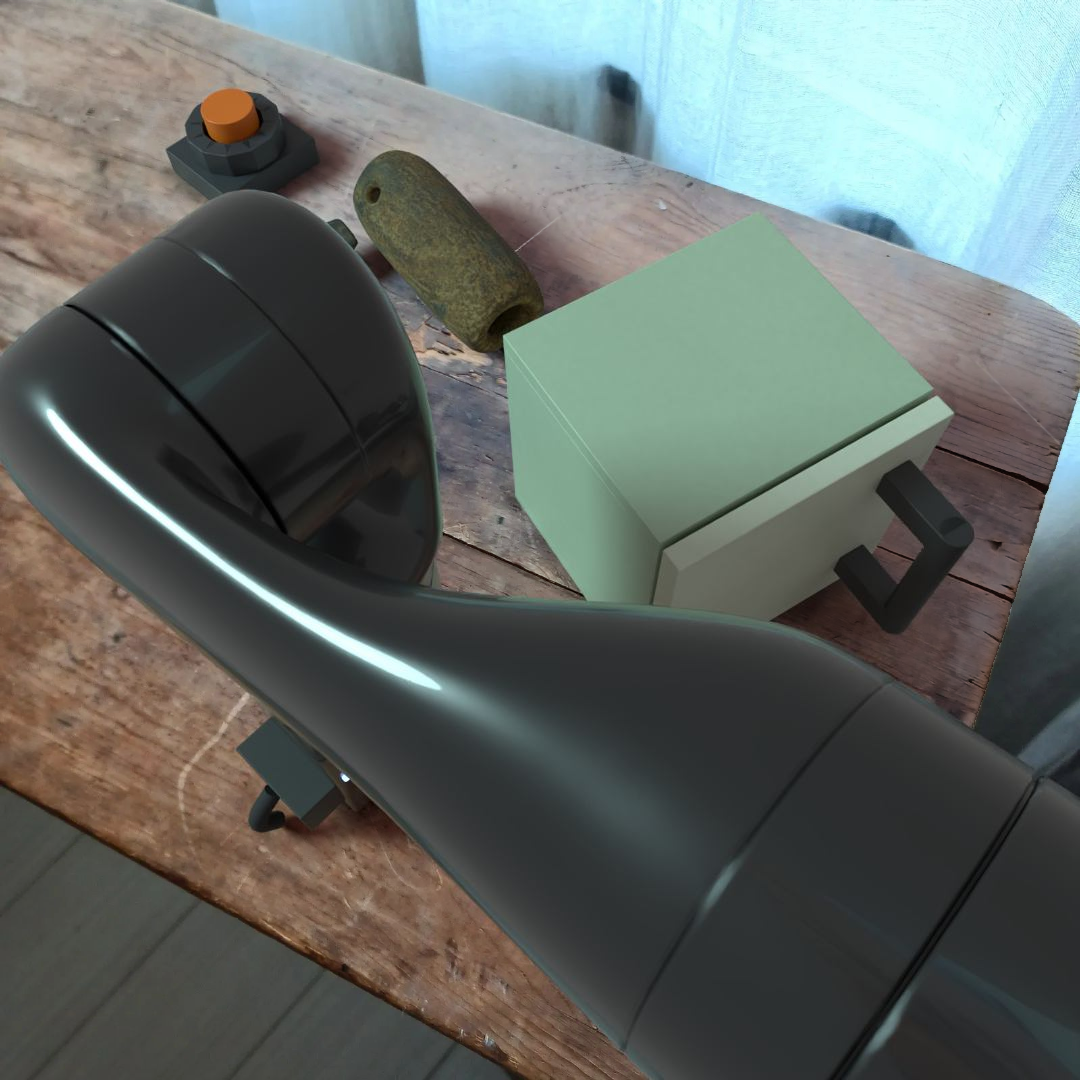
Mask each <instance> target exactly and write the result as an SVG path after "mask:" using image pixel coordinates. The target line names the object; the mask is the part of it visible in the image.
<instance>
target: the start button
mask: <svg viewBox="0 0 1080 1080" xmlns="http://www.w3.org/2000/svg"><path fill="white" fill-rule="evenodd" d="M245 91H246V90H243V89H239V88H223V89H219V90H216V91H214V92H212V93H210V94H209V95H208V96H207V97H205V98H204V100H203V101H202V102H203V103H202V102H201V103H202V105H201V114H202V117H203V120H204V122H205V125H206V128H207V130H208V133H209V135H210V137H211V138H212V139H213V140H215V141H216V142H219V143H225V144H231V143H236V142H241V141H245V140H247V139H248V138H250V137H251V136H253V135H254V134H256V132H257V131H258V129H259V124H260V123H259V118H258V115H257V112H256V109H255V106H254V102H253V99H252V98H251V96H250V95H249V94H248V93H246V92H245Z"/></svg>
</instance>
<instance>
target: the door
mask: <svg viewBox="0 0 1080 1080" xmlns="http://www.w3.org/2000/svg"><path fill="white" fill-rule="evenodd" d="M954 416H955V411H954V410H953V409H951V408H950V407H949V406H948V404H947V403H946V402H944V400H943V399H942V398H941V397H940V396H939V395H935V396H933V397H932V398H929V400H928V401H926V402H925V403H923V404H921V405H919V406H918V407H916V408H914V409H912V410H910V411H909V412H907V413H905V414H903V415H902V416H900V417H898V418H896V419H895V420H893V421H891V422H889V423H887V424H886V425H884V426H882V427H880V428H879V429H877V430H875V431H873V432H871V433H870V434H868V435H866V436H864V437H863V438H861V439H859V440H857V441H856V442H854V443H852V444H850V445H848V446H847V447H845V448H843V449H841V450H840V451H838V452H836V453H834V454H833V455H831V456H829V457H827V458H825V459H824V460H822V461H820V462H818V463H817V464H815V465H813V466H811V467H809V468H808V469H806V470H804V471H802V472H801V473H799V474H797V475H795V476H794V477H792V478H790V479H788V480H786V481H785V482H783V483H781V484H779V485H778V486H776V487H774V488H772V489H771V490H769V491H767V492H765V493H763V494H762V495H760V496H758V497H756V498H755V499H753V500H751V501H749V502H747V503H746V504H744V505H742V506H740V507H739V508H737V509H735V510H733V511H732V512H730V513H728V514H726V515H724V516H723V517H721V518H719V519H717V520H716V521H714V522H712V523H710V524H709V525H707V526H705V527H703V528H701V529H700V530H698V531H696V532H694V533H693V534H691V535H689V536H687V537H686V538H684V539H682V540H680V541H678V542H677V543H675V544H673V545H671V546H670V547H668V548H666V549H664V550H663V554H662V559H661V564H660V570H659V575H658V580H657V585H656V590H655V596H654V601H653V605H660V606H670V607H679V608H689V609H699V610H709V611H717V612H723V613H729V614H736V615H742V616H748V617H752V618H757V619H762V620H766V621H772V620H773V619H775V618H777V617H778V616H780V615H782V614H783V613H785V612H787V611H788V610H790V609H791V608H793V607H795V606H796V605H798V604H800V603H802V602H803V601H805V600H807V599H808V598H810V597H811V596H813V595H815V594H817V593H818V592H820V591H821V590H823V589H825V588H826V587H828V586H830V585H832V584H834V583H835V582H837V581H838V580H840V581H841V582H842V583H843V584H844V585H845V586H846V588H847V589H848V590H849V591H850V592H851V594H852V595H853V596H854V597H855V598H856V600H857V601H858V603H860V605H861V606H862V607H863V608H864V610H865V611H866V612H867V613H868V614H869V615H870V616H871V618H872V619H873V620H874V622H876V624H877V625H878V626H879V628H880V629H881V630H882V631H884V632H885V633H886V634H889V635H900V634H903V632H905V631H906V630H907V629H908V627H909V626H910V625H911V623H912V622H913V621H914V620H915V618H916V617H917V616H918V614H919V613H920V611H921V610H922V609H923V608H924V606H925V605H926V604H927V602H928V601H929V599H931V597H932V596H933V595H934V593H935V592H936V591H937V589H938V588H939V586H940V585H941V584H942V583H943V581H944V580H945V579H946V577H947V576H948V574H950V572H951V571H952V569H953V568H954V567H955V566H956V564H957V563H958V562H959V560H960V559H961V557H962V556H963V555H964V553H965V552H966V551H967V549H968V548H969V547H970V545H971V544H972V543H973V542H974V539H975V529H974V527H973V525H972V524H971V523H970V522H969V521H968V520H967V519H966V518H965V516H963V515H962V513H960V511H959V510H958V509H957V508H956V507H955V506H954V505H953V504H952V503H951V502H950V500H949V499H948V498H947V497H946V496H944V494H943V493H942V492H941V490H939V488H937V487H936V486H935V484H934V483H933V482H932V481H931V480H930V479H929V478H928V477H927V475H926V474H924V472H923V471H922V470H923V468H924V467H925V465H926V463H927V462H928V460H929V458H930V456H931V455H932V454H933V452H934V450H935V448H936V446H937V445H938V443H939V442H940V439H941V438H942V436H943V434H944V433H945V431H946V429H947V428H948V426H949V424H950V423H951V420H953V417H954ZM895 516H896V517H897V518H898V519H899V520H900V521H901V522H902V523H903V525H904V526H905V527H906V528H907V529H908V530H909V532H910V533H911V534H912V535H913V536H914V537H915V539H916V540H918V542H919V543H920V544H921V545H922V546H923V547H922V548H921V549H920V551H919V553H918V554H917V555H916V557H915V559H914V560H913V561H912V563H911V565H909V567H908V569H907V570H906V572H905V573H904V575H903V576H902V578H901V579H900V581H899V582H898V583H897V582H896V581H895V579H894V578H893V577H892V576H891V575H890V574H889V572H888V571H887V570H886V569H885V568H884V567H883V565H882V564H881V563H880V562H879V561H878V559H877V558H876V557H875V556H874V555H873V553H874V552H875V550H876V549H877V547H878V545H879V544H880V542H881V540H882V539H883V537H884V535H885V533H886V532H887V530H888V528H889V527H890V525H891V523H892V522H893V519H895Z"/></svg>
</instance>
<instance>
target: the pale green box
mask: <svg viewBox="0 0 1080 1080" xmlns="http://www.w3.org/2000/svg"><path fill="white" fill-rule="evenodd" d="M503 342H504V347H503V354H504V364H505V366H504V367H505V377H506V390H507V391H506V392H507V404H508V405H507V406H508V418H509V428H510V431H509V432H510V440H511V441H510V443H511V444H510V445H511V456H512V469H513V481H514V484H513V485H514V495H515V498H516V500H517V502H518V503H519V505H520V506H521V508H522V509H523V510H524V512H525V513H526V514H527V516H528V518H529V519H530V520H531V522H532V523H533V524H534V526H535V527H536V529H537V531H538V532H539V533H540V535H541V536H542V538H543V539H544V540H545V542H546V543H547V546H549V548H550V549H551V550H552V552H553V553H554V555H555V557H556V558H557V559H558V561H559V562H560V563H561V565H562V567H563V568H564V569H565V571H566V572H567V574H568V575H569V576H570V578H571V579H572V581H573V582H574V583H575V585H576V586H577V588H578V590H579V591H580V592H581V594H582V595H583V597H584V598H585V600H586V601H601V602H618V603H634V604H650V605H653V601H654V596H655V590H656V585H657V580H658V575H659V570H660V564H661V559H662V554H663V550H664V549H666V548H668V547H670V546H671V545H673V544H675V543H677V542H678V541H680V540H682V539H684V538H686V537H687V536H689V535H691V534H693V533H694V532H696V531H698V530H700V529H701V528H703V527H705V526H707V525H709V524H710V523H712V522H714V521H716V520H717V519H719V518H721V517H723V516H724V515H726V514H728V513H730V512H732V511H733V510H735V509H737V508H739V507H740V506H742V505H744V504H746V503H747V502H749V501H751V500H753V499H755V498H756V497H758V496H760V495H762V494H763V493H765V492H767V491H769V490H771V489H772V488H774V487H776V486H778V485H779V484H781V483H783V482H785V481H786V480H788V479H790V478H792V477H794V476H795V475H797V474H799V473H801V472H802V471H804V470H806V469H808V468H809V467H811V466H813V465H815V464H817V463H818V462H820V461H822V460H824V459H825V458H827V457H829V456H831V455H833V454H834V453H836V452H838V451H840V450H841V449H843V448H845V447H847V446H848V445H850V444H852V443H854V442H856V441H857V440H859V439H861V438H863V437H864V436H866V435H868V434H870V433H871V432H873V431H875V430H877V429H879V428H880V427H882V426H884V425H886V424H887V423H889V422H891V421H893V420H895V419H896V418H898V417H900V416H902V415H903V414H905V413H907V412H909V411H910V410H912V409H914V408H916V407H918V406H919V405H921V404H923V403H925V402H926V401H928V400H930V399H931V398H930V397H931V396H932V395H933V392H934V390H935V388H934V387H933V386H932V385H931V383H929V381H928V380H927V379H925V377H924V376H922V374H921V373H919V371H917V369H916V368H915V366H913V365H912V364H911V363H910V362H909V361H908V360H907V359H906V358H905V357H904V356H903V355H902V353H900V352H899V351H898V350H897V349H896V348H895V347H894V346H893V345H892V344H891V343H890V342H889V341H888V340H887V338H885V337H884V336H883V335H882V333H880V332H879V330H877V329H876V327H875V326H874V325H872V323H870V322H869V321H868V320H867V318H866V317H865V316H864V315H863V314H862V313H861V312H860V311H859V310H858V309H857V308H856V307H855V306H854V305H853V304H852V303H851V302H850V301H849V300H848V299H847V298H846V297H845V296H844V295H843V294H842V293H841V292H840V291H839V290H838V288H836V286H834V285H833V284H832V283H831V281H829V279H827V277H825V275H824V274H823V273H822V272H820V270H819V269H818V268H817V267H816V266H815V265H814V264H813V263H812V262H811V261H810V260H809V259H808V258H807V257H806V256H805V255H804V254H803V253H802V252H801V251H800V250H799V249H798V248H797V247H796V246H795V245H794V244H793V243H792V242H791V241H790V240H789V239H788V238H787V237H786V235H784V234H783V233H782V232H781V230H780V229H778V228H777V226H776V225H775V224H773V222H772V221H771V220H769V218H768V217H767V216H766V215H764V213H763V212H762V211H761V210H759V211H756V212H755V213H753V214H751V215H748V216H746V217H744V218H742V219H740V220H738V221H735V222H733V223H732V224H730V225H728V226H726V227H724V228H721V229H719V230H718V231H715V232H714V233H712V234H709V235H707V236H705V237H703V238H700V239H699V240H697V241H694V242H692V243H690V244H688V245H687V246H684V247H682V248H681V249H679V250H676V251H674V252H672V253H670V254H668V255H666V256H664V257H662V258H660V259H657V260H656V261H653V262H652V263H650V264H647V265H645V266H643V267H641V268H639V269H637V270H635V271H633V272H631V273H629V274H627V275H624V276H623V277H621V278H619V279H616V280H615V281H612V282H610V283H608V284H606V285H604V286H602V287H600V288H598V289H596V290H593V291H592V292H590V293H587V294H585V295H583V296H581V297H579V298H577V299H575V300H574V301H571V302H569V303H567V304H565V305H563V306H561V307H558V308H556V309H554V310H553V311H551V312H549V313H546V314H544V315H542V317H540V318H538V319H536V320H534V321H532V322H530V323H528V324H526V325H524V326H522V327H519V328H517V329H515V330H513V331H511V332H509V333H507V334H505V335H503Z"/></svg>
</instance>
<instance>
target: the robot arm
mask: <svg viewBox="0 0 1080 1080" xmlns="http://www.w3.org/2000/svg"><path fill="white" fill-rule="evenodd" d="M326 222H327V221H325V220H324V219H323V218H321V217H320V216H319V215H317V214H315V213H314V212H312V211H311V210H309V209H308V208H307V207H305V206H303V205H301V204H299V203H297V202H295V201H293V200H291V199H289V198H287V197H285V196H282V195H280V194H277V193H270V192H265V191H259V190H247V189H245V190H238V191H233V192H228V193H225V194H222V195H220V196H218V197H216V198H214V199H212V200H210V201H209V200H208V201H206V202H204V203H202V204H201V205H200V206H199V207H197V208H196V209H194V210H193V211H191V212H189V213H188V214H187V215H185V216H183V218H181V219H180V220H178V221H177V222H175V223H174V224H172V225H171V226H170V227H169V228H167V229H165V230H164V231H163V232H161V233H160V234H158V235H156V236H155V237H154V238H153V239H152V240H151V241H149V242H147V243H146V244H144V245H143V246H142V247H139V249H137V250H136V251H134V252H133V253H132V254H131V255H129V256H127V257H126V258H125V259H123V260H122V261H120V262H119V263H118V264H116V265H115V266H113V267H112V268H111V269H109V270H108V271H106V272H105V273H104V274H101V276H99V277H98V278H97V279H95V280H94V281H92V282H91V283H89V284H88V285H86V287H84V288H82V289H81V290H79V291H78V292H77V293H75V294H74V295H73V296H71V297H70V298H68V299H66V300H65V301H64V302H62V305H59V306H56V307H55V308H54V309H52V310H50V311H49V312H48V313H47V314H45V315H44V316H43V317H41V318H40V319H39V320H38V321H36V322H35V323H34V324H32V325H31V326H30V327H29V328H27V329H26V331H25V332H23V333H22V334H21V335H20V336H19V337H18V338H17V339H16V340H15V341H14V342H13V343H12V344H11V345H10V346H9V347H8V348H7V349H5V351H3V353H2V354H1V355H0V463H1V465H2V466H3V467H2V468H4V471H5V472H6V473H7V475H8V476H9V478H10V479H11V480H12V482H13V483H14V484H15V485H16V487H17V488H18V489H19V490H20V492H21V494H22V495H23V496H24V497H25V499H27V500H28V502H29V503H30V504H31V505H32V506H33V508H35V510H36V511H37V512H38V513H39V514H40V515H41V516H42V517H43V518H44V519H45V520H46V521H47V522H48V523H49V524H50V525H51V526H52V527H53V529H54V530H56V531H57V532H58V533H59V534H60V535H61V536H62V538H64V539H65V540H67V542H68V543H69V544H70V545H71V546H73V548H75V549H76V550H78V552H79V553H80V554H82V556H84V557H85V559H87V560H88V561H90V563H92V564H93V565H94V566H95V567H96V568H97V569H98V570H100V571H101V572H102V573H103V574H105V575H106V576H107V577H108V578H109V579H110V580H111V581H112V582H114V583H115V584H116V585H117V586H118V587H119V588H121V590H123V591H124V592H125V593H127V594H128V595H129V596H130V597H131V598H133V599H134V601H136V602H138V604H140V605H141V606H142V607H143V608H145V609H146V610H147V611H148V612H149V613H150V614H152V615H153V616H154V617H156V619H158V620H159V621H160V622H162V623H163V624H164V625H165V626H167V627H168V628H169V629H170V630H171V631H173V632H174V633H175V634H176V635H178V636H179V637H180V638H181V639H182V640H183V641H185V642H186V644H188V645H189V646H191V647H192V648H193V649H194V650H196V651H197V652H198V653H199V654H200V655H202V657H204V658H205V659H206V660H208V661H209V662H210V663H211V664H212V665H213V666H215V667H216V668H217V669H218V670H220V671H221V672H222V673H223V674H224V675H226V676H227V677H228V678H229V679H230V680H231V681H233V682H234V683H235V684H237V685H238V686H239V687H240V688H241V689H242V690H244V691H245V692H246V693H247V694H248V695H249V696H250V697H251V699H252V700H253V702H254V703H255V704H256V705H257V706H258V707H259V709H260V710H261V711H262V713H263V714H264V715H265V716H266V717H267V720H266V721H264V722H263V723H262V724H260V726H259V727H257V728H256V730H254V731H253V732H252V733H251V734H250V735H249V736H248V737H247V738H246V739H244V740H243V741H242V742H241V743H240V744H239V745H238V746H236V747H235V751H236V752H237V753H238V754H239V755H240V756H241V758H243V760H244V761H245V762H246V763H247V764H248V765H249V766H250V767H251V769H253V771H254V772H255V773H256V774H257V775H258V776H259V777H260V778H261V779H262V780H263V782H264V783H266V785H265V786H264V787H263V789H262V790H261V792H260V794H259V795H258V796H257V798H256V799H255V802H253V804H252V806H251V807H250V810H249V813H248V817H247V822H248V825H249V827H250V829H251V830H252V831H253V832H257V833H260V834H263V833H268V832H272V831H276V830H280V829H281V828H283V827H284V825H285V824H286V815H285V813H284V812H283V811H282V810H279V809H277V810H274V809H275V807H276V806H277V804H278V802H279V801H280V800H281V801H282V802H283V803H284V804H285V805H286V806H287V807H288V809H289V810H290V811H291V812H292V813H293V814H294V815H295V816H296V818H298V819H299V820H300V822H302V823H303V824H304V825H305V826H306V828H307V829H309V831H314V830H315V829H316V828H317V827H318V826H319V825H320V824H321V823H323V822H324V820H325V819H327V818H328V817H329V816H330V815H331V814H332V813H333V812H334V811H335V810H336V809H337V808H338V807H339V806H340V805H342V803H343V802H344V803H345V804H346V805H347V806H348V807H349V808H350V810H352V811H354V812H360V811H362V809H364V808H365V807H366V806H367V805H368V804H369V803H370V802H371V801H372V802H373V803H374V804H375V805H376V806H377V807H378V808H379V809H380V810H382V812H383V813H385V814H386V816H388V818H390V820H392V822H394V824H396V826H398V827H399V828H400V829H401V830H402V831H403V832H404V834H406V835H407V836H408V837H409V838H410V839H411V840H412V841H413V842H414V843H415V844H416V845H417V846H418V847H419V848H420V849H421V850H422V851H423V852H424V853H425V854H426V855H427V856H428V857H429V858H430V859H431V860H432V861H433V862H434V863H435V865H437V866H438V868H440V870H442V871H443V872H444V873H445V875H447V876H448V878H450V879H451V880H452V882H453V883H455V884H456V886H457V887H458V888H459V889H460V890H461V891H463V893H465V895H466V896H467V897H468V898H469V899H470V900H471V901H472V902H473V903H474V904H475V905H476V906H477V907H478V908H479V909H480V910H481V911H482V912H483V913H484V914H485V915H486V916H487V917H488V918H489V919H490V920H491V922H493V924H495V925H496V926H497V927H498V928H499V929H500V930H501V931H502V932H503V934H504V935H506V936H507V938H508V939H510V941H511V942H512V943H514V945H515V946H516V947H517V948H518V949H519V950H520V951H521V952H522V953H523V954H524V956H526V957H527V958H528V960H530V961H531V963H533V964H534V965H535V966H536V968H538V969H539V970H540V972H542V974H544V975H545V976H546V978H548V979H549V980H550V981H551V982H552V984H554V985H555V986H556V987H557V989H559V991H560V992H562V993H563V995H565V997H566V998H568V999H569V1001H570V1002H572V1004H573V1005H574V1006H575V1007H576V1008H577V1009H578V1010H579V1011H580V1012H581V1013H583V1015H584V1016H585V1017H586V1018H587V1019H588V1020H589V1021H590V1022H591V1023H592V1024H593V1025H594V1026H595V1027H596V1028H597V1029H598V1030H599V1031H600V1032H601V1033H602V1034H603V1035H604V1036H605V1037H606V1038H607V1039H608V1040H609V1041H610V1042H611V1043H612V1044H613V1045H614V1046H615V1047H616V1048H617V1049H618V1050H619V1051H620V1052H621V1054H625V1055H626V1058H627V1059H628V1060H629V1061H630V1062H631V1064H633V1066H635V1067H636V1068H637V1069H638V1070H639V1071H640V1072H641V1073H642V1074H643V1075H644V1076H646V1077H647V1079H649V1080H1080V797H1079V796H1077V795H1075V794H1074V793H1073V792H1071V791H1069V790H1068V789H1067V788H1065V787H1063V786H1062V785H1060V784H1059V783H1057V782H1056V781H1054V780H1052V779H1051V778H1049V777H1048V776H1046V775H1039V776H1038V777H1037V778H1036V779H1035V777H1036V771H1035V768H1034V767H1033V766H1031V765H1029V764H1028V763H1027V762H1025V761H1023V760H1022V759H1020V758H1018V757H1017V756H1015V755H1014V754H1012V753H1010V752H1009V751H1007V750H1006V749H1005V748H1003V747H1001V746H1000V745H998V744H997V743H995V742H994V741H992V740H991V739H990V738H987V737H986V736H984V735H983V734H981V733H980V732H978V731H977V730H975V729H973V728H972V727H970V726H969V725H967V724H966V723H964V722H963V721H961V720H960V719H958V718H957V717H955V716H953V715H952V714H951V713H950V712H948V711H946V710H944V709H943V708H941V707H939V706H938V705H936V704H935V703H934V702H932V701H930V700H929V699H927V698H926V697H924V696H922V695H921V694H920V693H918V692H916V691H915V690H913V689H912V688H910V687H909V686H907V685H905V684H904V683H902V682H901V681H900V680H896V679H895V678H894V677H893V676H892V675H890V674H889V673H888V672H885V671H884V670H882V669H880V668H879V667H877V666H875V665H874V664H871V663H870V662H868V661H867V660H865V659H864V658H862V657H861V656H858V655H857V654H855V653H853V652H852V651H851V650H849V649H846V648H845V647H842V646H840V645H838V644H836V643H834V642H831V641H829V640H827V639H825V638H822V637H820V636H818V635H816V634H814V633H812V632H808V631H805V630H802V629H799V628H796V627H793V626H789V625H786V624H782V623H781V622H780V623H779V622H774V621H772V620H770V621H766V620H762V619H757V618H752V617H748V616H742V615H736V614H729V613H723V612H717V611H709V610H699V609H689V608H679V607H670V606H660V605H650V604H634V603H618V602H601V601H587V600H578V599H561V598H559V599H557V598H545V597H544V598H543V597H542V598H541V597H527V596H512V595H498V594H497V595H496V594H488V593H480V592H470V591H460V590H451V589H444V588H443V586H442V582H441V579H440V575H439V569H438V565H437V560H436V558H437V555H438V552H439V550H440V546H441V543H442V539H443V533H444V515H443V510H442V502H441V501H442V499H441V491H440V480H439V469H438V459H437V450H436V449H437V448H436V438H435V431H434V424H433V415H432V410H431V404H430V399H429V395H428V391H427V388H426V383H425V380H424V376H423V372H422V369H421V365H420V363H419V359H418V357H417V354H416V351H415V349H414V346H413V343H412V341H411V339H410V337H409V334H408V332H407V330H406V328H405V326H404V324H403V322H402V320H401V317H400V316H399V313H398V312H397V310H396V308H395V306H394V305H393V303H392V301H391V298H390V297H389V295H388V294H387V292H386V290H385V289H384V287H383V285H382V284H381V282H380V280H379V279H378V278H377V277H376V275H375V274H374V273H373V270H372V269H371V268H370V267H369V266H368V264H367V263H366V262H365V260H364V259H363V258H362V257H361V256H360V254H359V253H358V252H357V251H356V250H354V249H353V248H352V247H351V246H350V245H349V244H348V243H347V242H346V241H345V240H344V239H343V238H342V237H341V236H340V235H339V234H338V233H337V232H336V231H335V230H334V229H333V228H332V227H331V226H330V225H329V224H328V223H326Z"/></svg>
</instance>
